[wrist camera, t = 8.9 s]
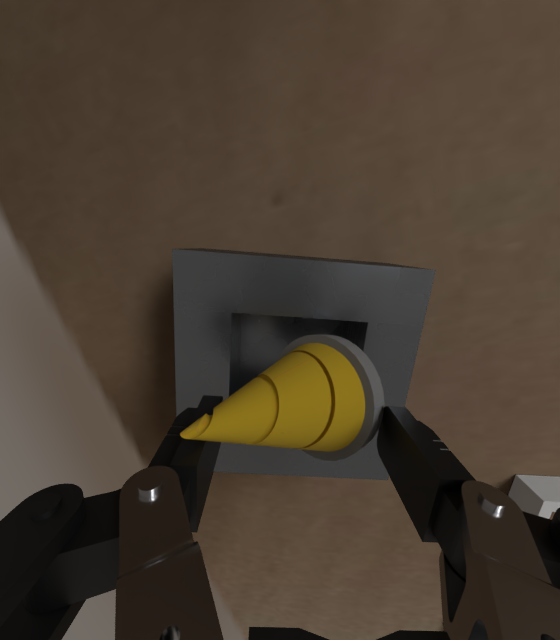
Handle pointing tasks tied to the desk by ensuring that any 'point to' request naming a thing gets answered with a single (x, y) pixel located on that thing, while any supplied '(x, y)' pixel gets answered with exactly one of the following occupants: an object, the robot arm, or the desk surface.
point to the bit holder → (290, 335)
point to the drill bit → (303, 402)
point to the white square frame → (536, 494)
